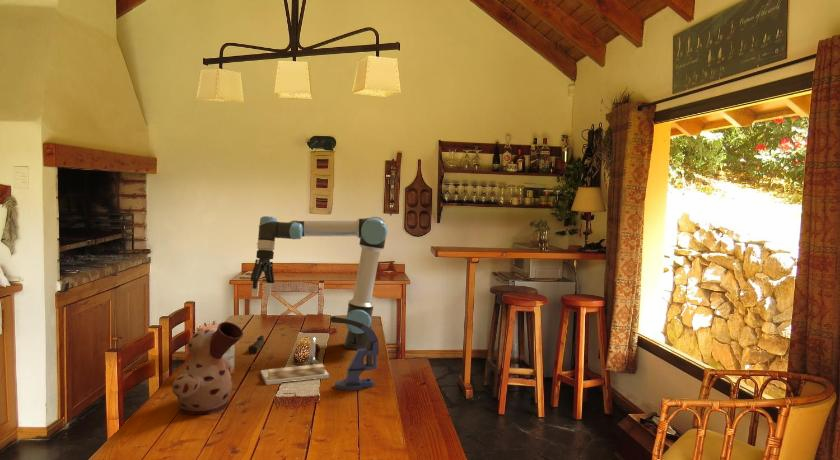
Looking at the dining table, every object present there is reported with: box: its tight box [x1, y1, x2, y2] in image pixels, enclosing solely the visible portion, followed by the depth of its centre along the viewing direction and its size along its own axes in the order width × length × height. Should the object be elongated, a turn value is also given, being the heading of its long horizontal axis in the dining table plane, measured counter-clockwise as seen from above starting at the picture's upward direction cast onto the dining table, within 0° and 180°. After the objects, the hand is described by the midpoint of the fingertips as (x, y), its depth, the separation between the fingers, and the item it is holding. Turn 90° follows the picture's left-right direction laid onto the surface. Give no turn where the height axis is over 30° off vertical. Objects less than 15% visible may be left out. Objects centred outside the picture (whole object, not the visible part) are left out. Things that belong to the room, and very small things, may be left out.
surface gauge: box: [303, 336, 321, 366], centre depth 239 cm, size 6×8×13 cm
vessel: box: [171, 321, 244, 416], centre depth 199 cm, size 29×22×30 cm
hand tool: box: [247, 334, 265, 355], centre depth 273 cm, size 19×4×5 cm, turn 179°
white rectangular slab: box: [260, 369, 330, 386], centre depth 234 cm, size 25×14×2 cm, turn 114°
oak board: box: [267, 363, 326, 380], centre depth 231 cm, size 22×4×3 cm, turn 114°
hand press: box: [330, 315, 380, 391], centre depth 223 cm, size 19×9×28 cm, turn 103°
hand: (261, 296), depth 258 cm, fingers open, 13 cm apart
